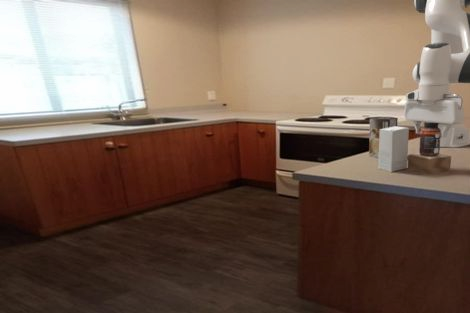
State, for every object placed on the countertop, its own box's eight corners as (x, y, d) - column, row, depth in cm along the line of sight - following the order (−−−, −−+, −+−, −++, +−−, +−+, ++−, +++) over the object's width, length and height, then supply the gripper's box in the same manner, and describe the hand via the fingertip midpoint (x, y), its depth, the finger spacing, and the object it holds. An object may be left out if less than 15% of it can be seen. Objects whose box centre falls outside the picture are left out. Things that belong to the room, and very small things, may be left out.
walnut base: (427, 165, 120) (428, 151, 118) (450, 170, 111) (451, 155, 110) (407, 168, 117) (408, 153, 116) (429, 174, 109) (430, 158, 108)
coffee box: (397, 156, 136) (398, 117, 133) (389, 159, 132) (390, 119, 129) (376, 153, 143) (377, 116, 140) (368, 156, 140) (369, 118, 136)
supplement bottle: (442, 156, 110) (444, 122, 107) (422, 156, 111) (424, 123, 109) (435, 152, 115) (437, 120, 113) (416, 153, 117) (418, 121, 114)
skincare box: (393, 165, 122) (395, 125, 119) (408, 168, 117) (410, 127, 114) (377, 169, 119) (378, 128, 116) (391, 172, 113) (393, 129, 110)
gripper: (470, 93, 100) (466, 138, 103) (416, 93, 119) (414, 131, 122) (454, 95, 98) (451, 140, 101) (402, 94, 117) (400, 132, 120)
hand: (430, 135), depth 112 cm, fingers open, 8 cm apart
